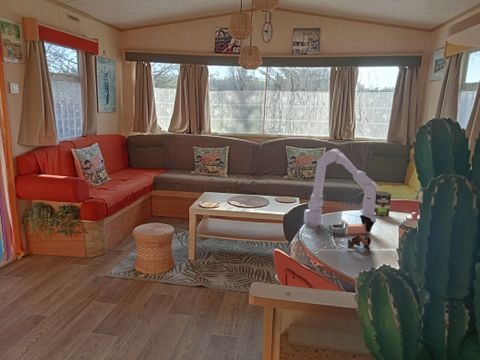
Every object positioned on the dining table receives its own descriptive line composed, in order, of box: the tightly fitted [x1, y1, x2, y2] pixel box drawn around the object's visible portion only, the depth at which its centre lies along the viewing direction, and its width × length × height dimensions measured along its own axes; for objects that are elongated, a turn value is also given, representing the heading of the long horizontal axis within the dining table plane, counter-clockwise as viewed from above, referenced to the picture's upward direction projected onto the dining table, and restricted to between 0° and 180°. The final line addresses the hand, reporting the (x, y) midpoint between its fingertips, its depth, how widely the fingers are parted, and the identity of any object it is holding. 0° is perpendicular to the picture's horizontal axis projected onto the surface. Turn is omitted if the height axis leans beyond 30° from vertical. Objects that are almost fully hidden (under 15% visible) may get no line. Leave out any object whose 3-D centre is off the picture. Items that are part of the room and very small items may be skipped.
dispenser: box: [327, 218, 370, 237], centre depth 184 cm, size 19×10×7 cm, turn 93°
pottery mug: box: [346, 236, 372, 256], centre depth 165 cm, size 12×10×8 cm
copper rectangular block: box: [347, 223, 371, 234], centre depth 185 cm, size 12×4×4 cm, turn 93°
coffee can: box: [374, 190, 392, 219], centre depth 216 cm, size 10×10×14 cm
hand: (366, 230), depth 185 cm, fingers closed on copper rectangular block, 3 cm apart
